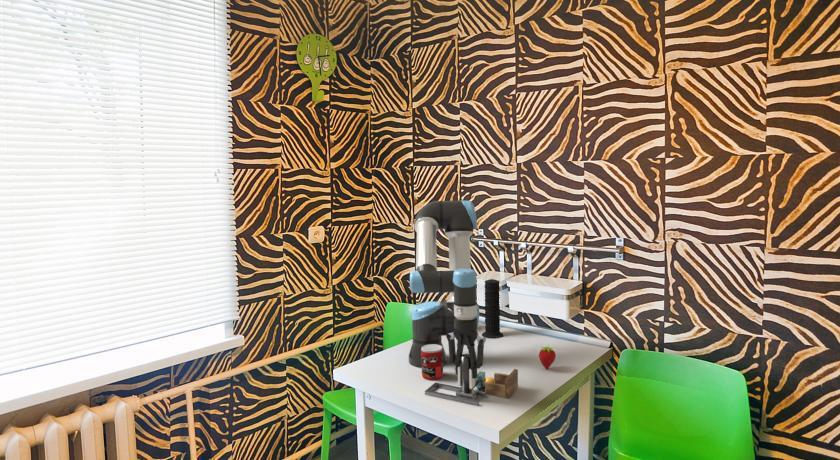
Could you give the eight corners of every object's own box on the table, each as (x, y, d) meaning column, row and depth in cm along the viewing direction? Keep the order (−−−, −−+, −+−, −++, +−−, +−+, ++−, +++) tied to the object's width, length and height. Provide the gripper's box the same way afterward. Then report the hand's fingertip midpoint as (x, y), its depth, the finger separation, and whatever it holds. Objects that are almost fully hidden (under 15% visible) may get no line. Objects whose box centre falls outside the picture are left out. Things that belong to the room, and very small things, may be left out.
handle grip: (480, 338, 223) (503, 338, 221) (480, 281, 220) (502, 281, 219) (482, 331, 233) (503, 332, 231) (481, 276, 230) (503, 277, 228)
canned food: (417, 376, 180) (416, 347, 179) (432, 370, 186) (432, 342, 185) (432, 382, 175) (431, 352, 174) (447, 375, 181) (447, 347, 180)
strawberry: (558, 367, 186) (558, 342, 185) (550, 374, 180) (550, 347, 179) (544, 364, 190) (544, 339, 189) (535, 370, 184) (535, 344, 183)
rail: (424, 394, 165) (424, 391, 165) (435, 385, 172) (435, 382, 172) (477, 405, 156) (477, 402, 156) (486, 396, 163) (486, 392, 163)
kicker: (455, 397, 162) (455, 356, 160) (472, 381, 174) (471, 343, 173) (472, 400, 159) (472, 359, 158) (488, 384, 171) (487, 346, 170)
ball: (490, 378, 166) (494, 389, 166) (494, 374, 170) (498, 385, 169) (480, 380, 168) (484, 391, 168) (484, 376, 171) (488, 387, 171)
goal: (485, 394, 164) (484, 375, 164) (495, 383, 173) (495, 365, 172) (508, 399, 160) (508, 380, 160) (517, 387, 169) (517, 369, 168)
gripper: (437, 316, 160) (439, 385, 163) (484, 322, 152) (485, 395, 154) (448, 311, 167) (449, 377, 169) (493, 316, 158) (494, 386, 161)
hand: (466, 385), depth 162 cm, fingers closed on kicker, 3 cm apart
